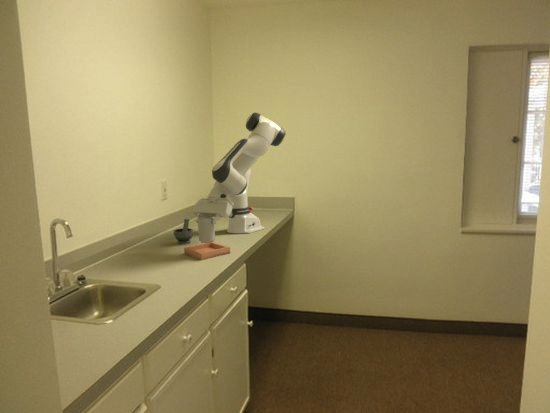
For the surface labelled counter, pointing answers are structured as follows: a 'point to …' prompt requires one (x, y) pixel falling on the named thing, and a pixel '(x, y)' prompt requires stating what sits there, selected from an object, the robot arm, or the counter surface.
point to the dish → (206, 250)
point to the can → (206, 229)
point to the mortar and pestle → (184, 233)
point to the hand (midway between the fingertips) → (205, 222)
